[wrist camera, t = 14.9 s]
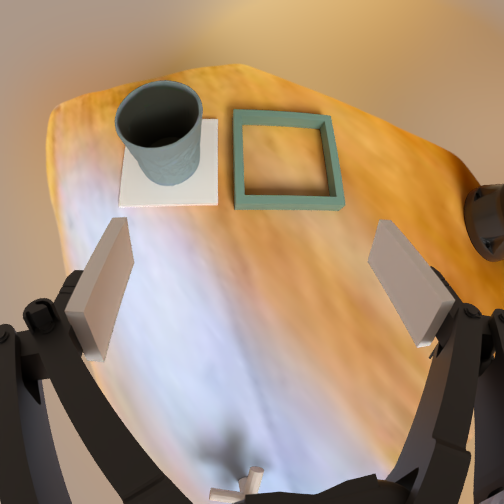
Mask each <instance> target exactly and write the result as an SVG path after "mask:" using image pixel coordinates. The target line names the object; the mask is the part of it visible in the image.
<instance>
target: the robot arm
mask: <svg viewBox="0 0 504 504" xmlns="http://www.w3.org/2000/svg"><path fill="white" fill-rule="evenodd" d="M464 214H465V223H466V227H467V231H468V234H469V237H470V239H471V241H472V243H473V245H474V247H475V249H476V250H477V251H478V253H479V254H480V255H481V256H482V257H483V258H485V259H486V260H488V261H491V262H496V261H500V260H503V259H504V184H496V185H483V186H479V187H478V188H476V189H474V190H472V191H471V192H470V193H469V194H468V196H467V198H466V202H465V209H464ZM368 263H369V265H370V266H371V268H372V269H373V271H374V273H375V274H376V276H377V278H378V279H379V281H380V283H381V284H382V286H383V288H384V289H385V291H386V293H387V295H388V296H389V298H390V300H391V301H392V303H393V305H394V307H395V308H396V310H397V312H398V314H399V316H400V317H401V319H402V321H403V323H404V324H405V326H406V328H407V330H408V332H409V334H410V335H411V337H412V339H413V341H414V343H415V345H416V347H417V348H419V347H424V346H429V345H430V344H431V343H432V341H433V339H434V338H435V336H436V338H437V339H438V341H439V342H438V344H437V345H436V347H435V349H434V350H433V352H432V353H431V355H430V356H429V359H431V357H432V356H433V359H432V363H431V367H430V370H429V374H428V377H427V381H426V384H425V388H424V391H423V394H422V397H421V400H420V403H419V406H418V409H417V412H416V415H415V418H414V421H413V424H412V426H411V429H410V432H409V434H408V437H407V439H406V442H405V444H404V447H403V449H402V452H401V454H400V457H399V459H398V461H397V463H396V465H395V467H394V469H393V470H392V472H391V473H390V474H389V475H388V477H387V478H386V480H378V479H377V477H376V474H372V475H368V476H364V477H360V478H356V479H352V480H347V481H345V482H343V483H341V484H339V485H336V486H334V487H332V488H330V489H328V490H325V491H323V492H321V493H319V494H314V495H311V494H298V493H287V492H272V493H261V494H246V495H245V498H244V500H241V501H237V502H235V503H232V504H458V501H459V499H460V495H461V492H462V489H463V486H464V483H465V479H466V476H467V472H468V468H469V465H470V461H471V453H470V452H469V451H466V443H467V439H468V434H469V430H470V425H471V420H472V415H473V409H474V417H475V469H474V492H473V495H474V504H504V310H502V309H495V310H494V312H493V314H492V315H491V316H485V315H482V314H481V312H480V310H479V309H477V308H476V307H475V306H473V305H472V304H469V303H463V302H462V301H461V300H460V298H459V297H458V296H457V294H456V293H455V292H454V290H453V289H452V288H451V286H449V284H448V282H447V281H445V278H444V277H443V276H442V275H441V273H440V272H439V271H437V270H436V269H435V268H433V267H432V266H429V265H428V264H427V262H426V261H425V260H424V259H423V257H422V256H421V255H420V254H419V252H418V251H417V250H416V249H415V248H414V246H413V245H412V244H411V243H410V242H409V240H408V239H407V238H406V237H405V236H404V235H403V233H402V232H401V231H400V230H399V229H398V228H397V226H396V225H395V224H394V223H393V222H392V221H391V220H379V223H378V227H377V230H376V234H375V238H374V241H373V245H372V248H371V252H370V255H369V258H368ZM133 265H134V259H133V253H132V248H131V242H130V236H129V229H128V223H127V217H122V218H112V220H111V221H110V223H109V225H108V227H107V228H106V230H105V232H104V234H103V235H102V237H101V239H100V241H99V243H98V245H97V246H96V248H95V250H94V252H93V254H92V256H91V258H90V259H89V261H88V263H87V265H86V267H85V269H84V270H74V271H73V272H72V273H71V274H70V275H69V276H68V277H67V278H66V280H65V282H64V284H63V287H62V288H61V290H60V291H59V294H58V296H57V297H56V299H55V302H54V303H53V302H52V301H51V300H49V299H47V298H40V299H37V300H34V301H33V302H31V303H30V304H28V306H27V307H26V308H25V310H24V312H23V319H24V321H25V323H26V325H27V326H28V328H29V330H27V331H21V332H16V331H15V329H14V328H13V327H12V326H11V325H8V324H2V325H0V501H1V504H72V502H71V500H70V497H69V494H68V491H67V488H66V485H65V482H64V478H63V476H62V472H61V469H60V465H59V461H58V458H57V455H56V450H55V446H54V442H53V438H52V434H51V429H50V425H49V420H48V415H47V409H46V404H45V398H44V392H43V385H42V379H49V378H50V380H51V382H52V384H53V386H54V388H55V391H56V392H57V395H58V397H59V399H60V401H61V403H62V405H63V406H64V409H65V410H66V412H67V414H68V416H69V418H70V420H71V422H72V423H73V425H74V427H75V429H76V431H77V432H78V434H79V436H80V437H81V439H82V441H83V442H84V444H85V446H86V447H87V449H88V451H89V452H90V454H91V455H92V457H93V458H94V460H95V462H96V463H97V465H98V466H99V468H100V469H101V471H102V472H103V473H104V475H105V476H106V478H107V479H108V481H109V482H110V483H111V485H112V486H113V488H114V489H115V490H116V491H117V493H118V494H119V496H120V497H121V499H122V500H123V503H124V504H193V503H192V502H191V501H190V500H189V499H188V498H187V497H186V496H185V495H184V494H183V493H182V492H181V491H180V490H179V489H178V488H177V487H176V486H175V484H174V483H173V482H172V481H171V480H170V479H169V478H168V477H167V476H166V475H165V474H164V473H163V472H162V471H161V470H160V469H159V468H158V466H157V465H156V464H155V463H154V462H153V461H152V459H151V458H150V457H149V456H148V454H147V453H146V452H145V451H144V450H143V448H142V447H141V446H140V444H139V443H138V442H137V441H136V439H135V438H134V437H133V435H132V434H131V433H130V431H129V430H128V429H127V427H126V426H125V425H124V423H123V422H122V421H121V419H120V418H119V416H118V415H117V414H116V412H115V411H114V409H113V408H112V406H111V405H110V403H109V402H108V400H107V399H106V397H105V396H104V394H103V393H102V391H101V390H100V388H99V387H98V385H97V383H96V382H95V380H94V379H93V377H92V375H91V374H90V372H89V370H88V369H87V367H86V365H85V364H84V362H83V360H82V358H81V356H82V353H84V355H85V357H86V359H87V360H88V361H98V362H104V361H105V358H106V354H107V350H108V346H109V343H110V339H111V335H112V332H113V328H114V325H115V321H116V318H117V315H118V311H119V308H120V305H121V301H122V298H123V295H124V292H125V289H126V286H127V283H128V280H129V277H130V274H131V271H132V268H133ZM495 352H496V353H495ZM494 353H495V358H494V356H493V354H494Z"/></svg>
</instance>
